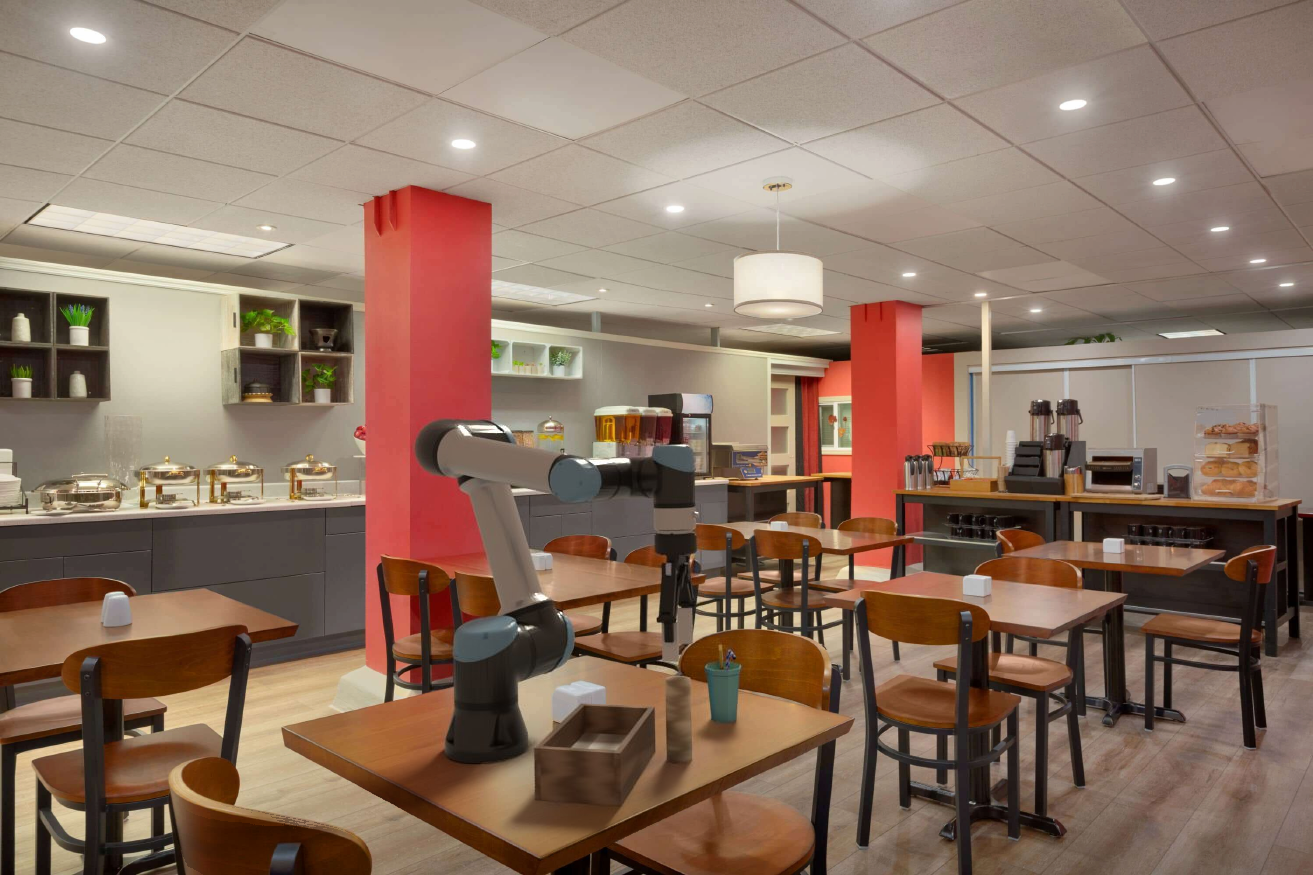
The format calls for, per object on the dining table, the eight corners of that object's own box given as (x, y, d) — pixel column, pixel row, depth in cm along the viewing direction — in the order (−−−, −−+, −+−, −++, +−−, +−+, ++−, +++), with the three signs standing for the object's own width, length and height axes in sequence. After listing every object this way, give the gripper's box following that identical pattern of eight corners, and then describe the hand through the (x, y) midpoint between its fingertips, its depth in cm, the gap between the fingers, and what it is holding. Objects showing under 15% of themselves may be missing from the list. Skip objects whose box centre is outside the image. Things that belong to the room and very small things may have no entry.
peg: (664, 762, 144) (662, 681, 144) (669, 753, 148) (668, 675, 149) (689, 764, 143) (688, 682, 143) (694, 755, 147) (692, 676, 148)
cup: (754, 728, 161) (753, 651, 162) (716, 732, 160) (715, 654, 160) (733, 708, 175) (731, 636, 175) (697, 711, 173) (696, 639, 174)
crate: (534, 799, 129) (534, 747, 130) (581, 746, 153) (581, 703, 153) (621, 805, 126) (620, 753, 127) (655, 751, 150) (654, 706, 150)
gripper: (683, 537, 134) (686, 669, 133) (707, 525, 158) (710, 637, 158) (638, 538, 135) (641, 668, 135) (668, 526, 160) (671, 636, 159)
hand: (678, 651), depth 146 cm, fingers open, 13 cm apart
